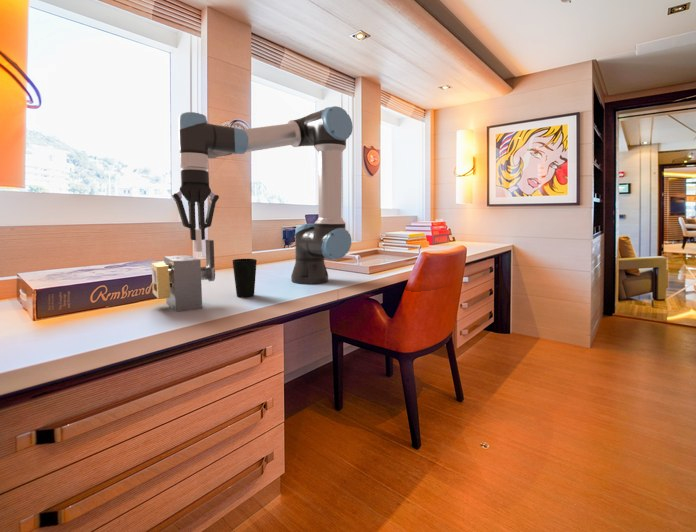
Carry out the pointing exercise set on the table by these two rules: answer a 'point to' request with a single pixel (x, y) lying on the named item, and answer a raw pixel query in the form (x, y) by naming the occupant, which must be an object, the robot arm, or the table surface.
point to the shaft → (206, 272)
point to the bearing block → (184, 282)
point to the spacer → (161, 280)
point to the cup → (244, 277)
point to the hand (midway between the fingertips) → (198, 251)
